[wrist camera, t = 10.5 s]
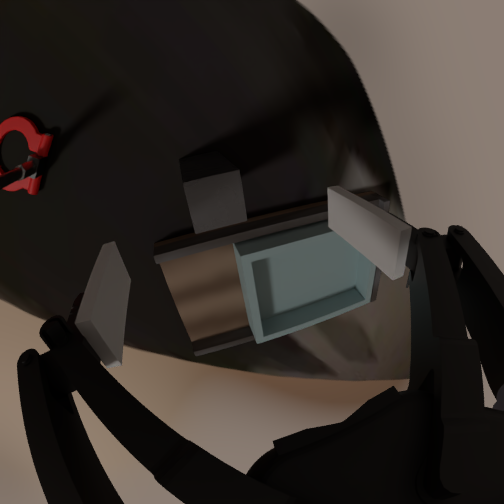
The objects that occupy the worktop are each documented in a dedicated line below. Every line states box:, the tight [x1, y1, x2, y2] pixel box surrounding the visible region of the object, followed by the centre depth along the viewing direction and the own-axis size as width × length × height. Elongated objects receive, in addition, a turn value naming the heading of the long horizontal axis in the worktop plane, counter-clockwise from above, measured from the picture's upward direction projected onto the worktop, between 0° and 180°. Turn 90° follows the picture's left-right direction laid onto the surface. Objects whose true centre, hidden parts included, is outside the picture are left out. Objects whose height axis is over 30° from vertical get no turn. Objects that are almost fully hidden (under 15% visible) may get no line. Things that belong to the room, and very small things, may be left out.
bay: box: [154, 191, 390, 356], centre depth 35 cm, size 17×29×4 cm, turn 99°
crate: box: [233, 219, 376, 344], centre depth 34 cm, size 14×18×4 cm
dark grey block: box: [179, 151, 247, 234], centre depth 23 cm, size 4×4×10 cm
